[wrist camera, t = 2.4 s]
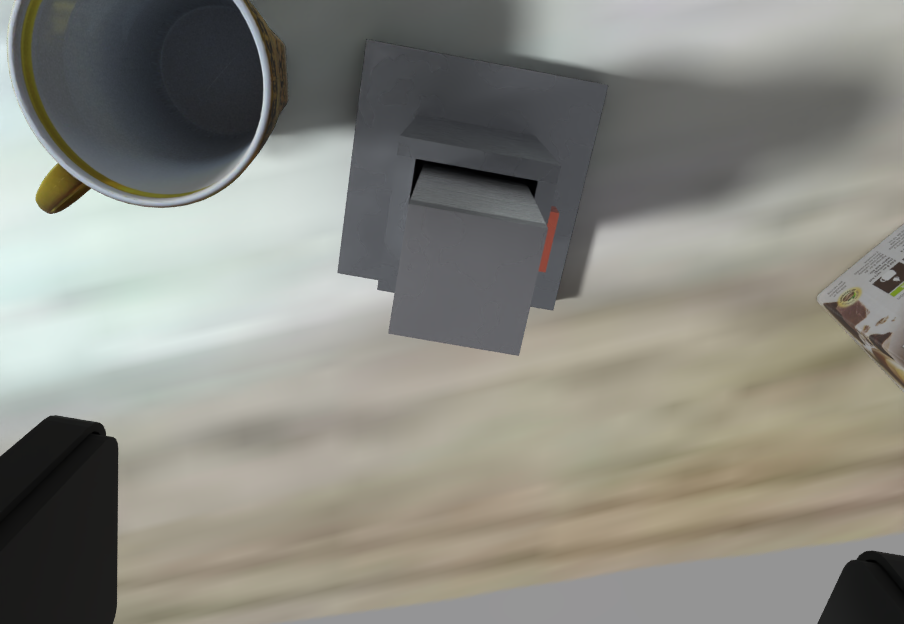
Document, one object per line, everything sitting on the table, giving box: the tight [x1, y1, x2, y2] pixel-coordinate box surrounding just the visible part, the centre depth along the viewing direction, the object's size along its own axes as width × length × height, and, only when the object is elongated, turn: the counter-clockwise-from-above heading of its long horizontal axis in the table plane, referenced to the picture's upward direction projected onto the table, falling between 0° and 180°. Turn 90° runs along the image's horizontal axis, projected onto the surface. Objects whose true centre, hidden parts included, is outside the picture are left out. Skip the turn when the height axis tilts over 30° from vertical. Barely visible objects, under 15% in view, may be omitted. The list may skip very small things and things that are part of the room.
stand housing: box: [338, 39, 608, 310], centre depth 31 cm, size 12×12×12 cm
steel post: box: [388, 160, 548, 356], centre depth 27 cm, size 4×4×16 cm
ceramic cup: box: [7, 0, 288, 214], centre depth 31 cm, size 13×10×10 cm
